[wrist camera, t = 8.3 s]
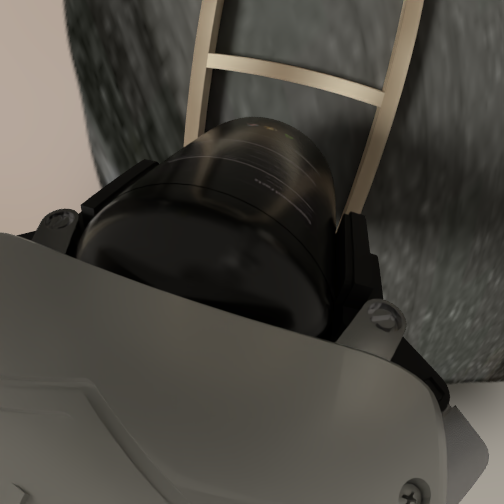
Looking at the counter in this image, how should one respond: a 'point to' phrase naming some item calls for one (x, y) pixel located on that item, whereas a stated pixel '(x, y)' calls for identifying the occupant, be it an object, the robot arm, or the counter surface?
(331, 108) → the counter surface
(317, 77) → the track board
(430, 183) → the counter surface
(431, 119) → the counter surface
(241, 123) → the supplement bottle
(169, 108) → the counter surface
